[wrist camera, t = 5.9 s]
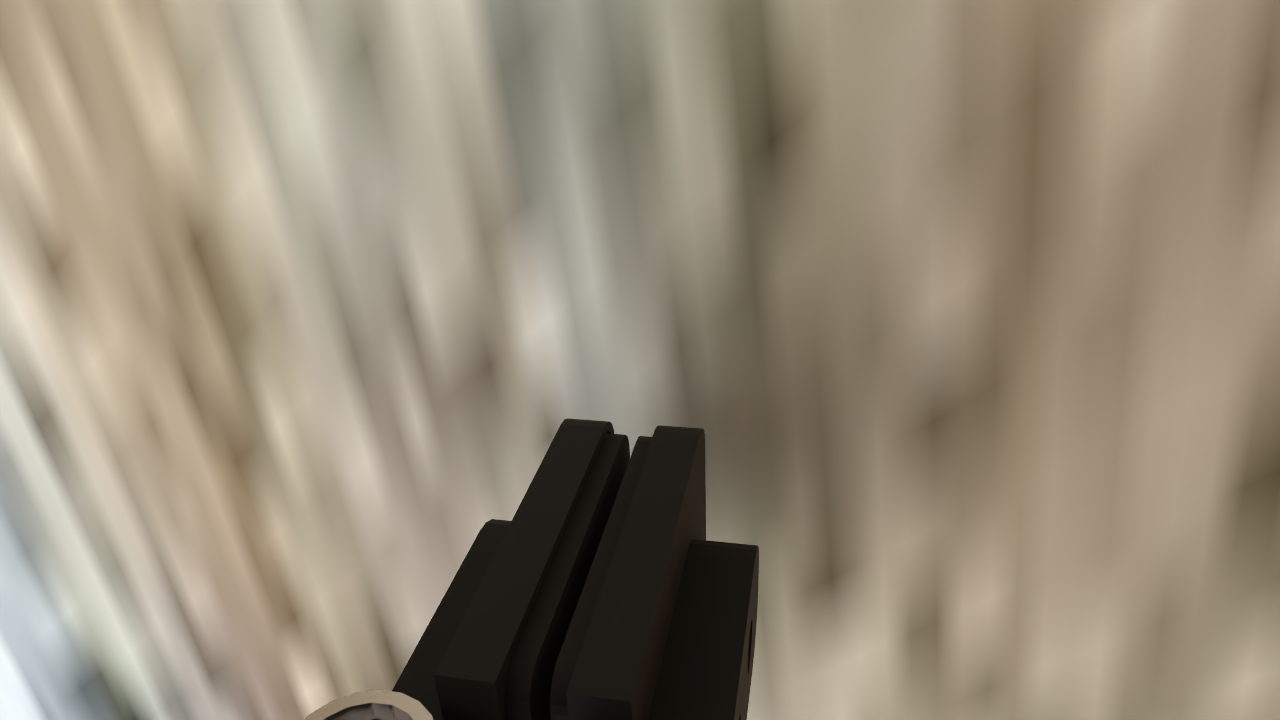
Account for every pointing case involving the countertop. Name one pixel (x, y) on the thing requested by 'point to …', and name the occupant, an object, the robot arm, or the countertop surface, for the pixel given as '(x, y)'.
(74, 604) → the countertop surface
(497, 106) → the countertop surface
